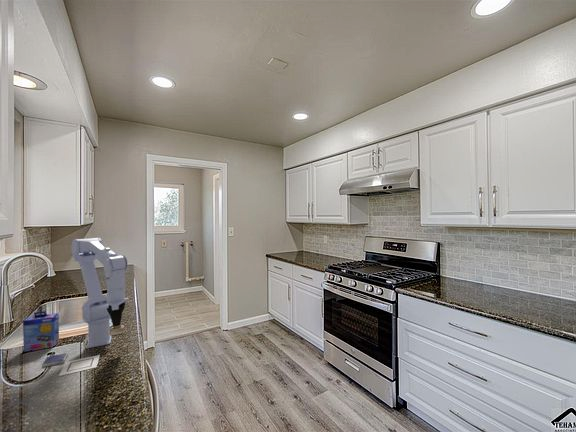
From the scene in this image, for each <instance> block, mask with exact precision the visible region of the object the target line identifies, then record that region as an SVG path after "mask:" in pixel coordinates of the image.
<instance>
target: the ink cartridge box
mask: <svg viewBox="0 0 576 432" xmlns="http://www.w3.org/2000/svg"><path fill="white" fill-rule="evenodd" d="M33 314H34V315H32V316H30V315H29V316H28V317H27V318H25V319H23V320H22V327H23V328H22V332H23V334H22V335H23V339H22V340H23V352H24V353H25V352H30V351H31V350H32V351H36V350H44V348H45V349H50V348H49V347H51V348H54V347H53V346H55V345H56V344H57V343H58V342H59V343H60V324H59V317H60V316H59V313H58V312H54V313H47V312H46V311H44V310H42V311H35V312H33ZM59 343H58V344H59ZM58 344H57V345H58ZM57 345H56V346H57ZM56 346H55V347H56Z"/></svg>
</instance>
